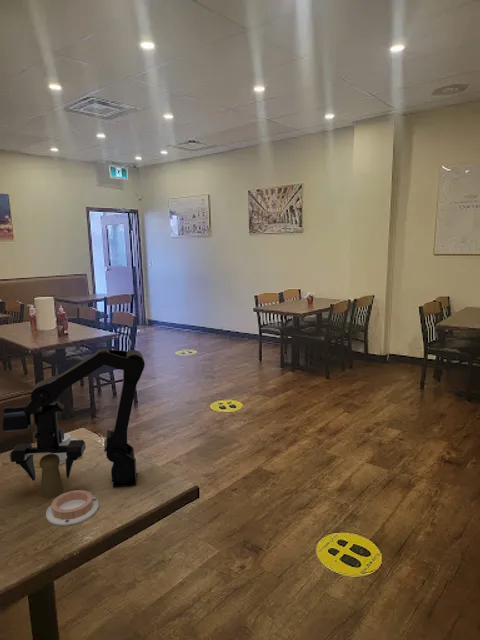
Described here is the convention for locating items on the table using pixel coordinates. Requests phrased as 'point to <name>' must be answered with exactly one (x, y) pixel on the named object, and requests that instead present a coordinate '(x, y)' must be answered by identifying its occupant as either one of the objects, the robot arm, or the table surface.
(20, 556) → the table surface
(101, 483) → the table surface
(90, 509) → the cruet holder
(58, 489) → the brown peg
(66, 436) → the cup
